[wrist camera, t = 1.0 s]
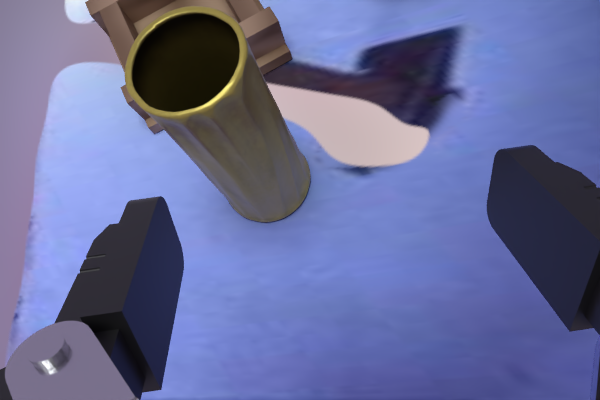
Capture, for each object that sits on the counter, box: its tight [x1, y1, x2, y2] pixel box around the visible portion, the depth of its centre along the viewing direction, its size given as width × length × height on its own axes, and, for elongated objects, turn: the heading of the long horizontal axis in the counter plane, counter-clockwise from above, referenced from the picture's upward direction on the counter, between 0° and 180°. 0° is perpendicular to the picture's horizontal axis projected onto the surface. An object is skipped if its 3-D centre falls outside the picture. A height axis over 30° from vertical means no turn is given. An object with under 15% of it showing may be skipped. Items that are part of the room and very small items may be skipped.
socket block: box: [85, 0, 292, 134], centre depth 34 cm, size 12×12×4 cm
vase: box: [125, 6, 310, 222], centre depth 24 cm, size 6×6×14 cm
